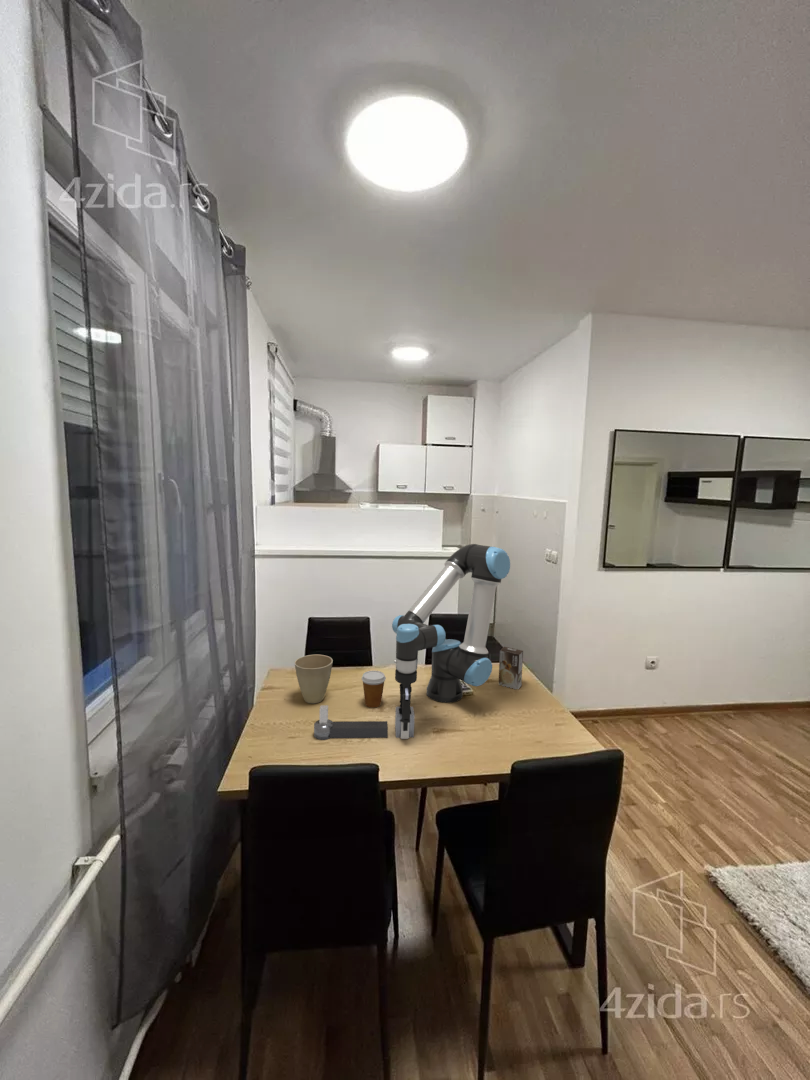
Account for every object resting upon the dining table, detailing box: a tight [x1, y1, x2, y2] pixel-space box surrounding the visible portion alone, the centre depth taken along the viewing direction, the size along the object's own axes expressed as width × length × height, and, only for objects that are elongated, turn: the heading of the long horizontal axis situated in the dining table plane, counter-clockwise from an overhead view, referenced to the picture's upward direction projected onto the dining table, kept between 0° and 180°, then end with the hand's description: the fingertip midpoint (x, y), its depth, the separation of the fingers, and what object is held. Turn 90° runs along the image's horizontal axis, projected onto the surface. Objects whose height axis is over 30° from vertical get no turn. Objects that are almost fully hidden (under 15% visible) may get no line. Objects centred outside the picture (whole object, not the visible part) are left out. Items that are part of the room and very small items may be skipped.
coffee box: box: [497, 646, 524, 690], centre depth 194 cm, size 9×6×16 cm
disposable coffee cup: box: [361, 670, 386, 709], centre depth 173 cm, size 10×10×12 cm
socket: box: [394, 706, 415, 739], centre depth 153 cm, size 6×6×8 cm
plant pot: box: [294, 654, 334, 704], centre depth 175 cm, size 15×15×16 cm
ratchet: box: [313, 704, 389, 741], centre depth 151 cm, size 25×6×10 cm, turn 94°
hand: (403, 731), depth 154 cm, fingers open, 7 cm apart
